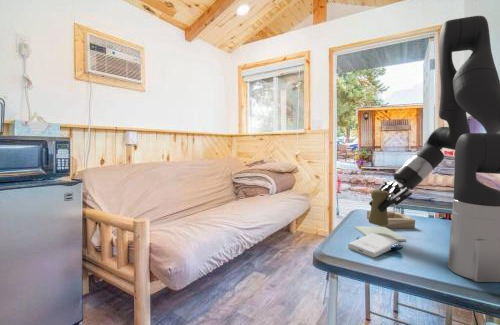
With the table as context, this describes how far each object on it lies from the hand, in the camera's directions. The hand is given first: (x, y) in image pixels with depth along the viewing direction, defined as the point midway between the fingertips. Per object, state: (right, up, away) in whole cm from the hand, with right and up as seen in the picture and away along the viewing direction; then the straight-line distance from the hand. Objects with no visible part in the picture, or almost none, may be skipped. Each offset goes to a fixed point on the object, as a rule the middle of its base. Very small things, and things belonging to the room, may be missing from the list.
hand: (375, 207), depth 88 cm
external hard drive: (-6, -10, -12) cm, 16 cm away
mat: (+1, -9, +1) cm, 9 cm away
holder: (+12, -8, +14) cm, 20 cm away
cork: (+1, -5, 0) cm, 6 cm away
